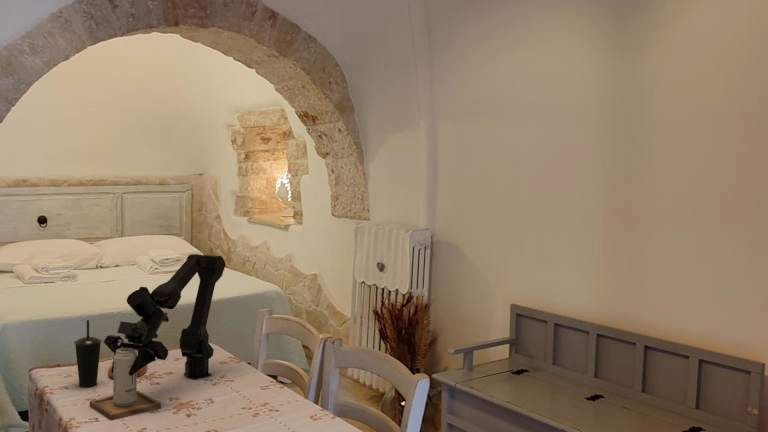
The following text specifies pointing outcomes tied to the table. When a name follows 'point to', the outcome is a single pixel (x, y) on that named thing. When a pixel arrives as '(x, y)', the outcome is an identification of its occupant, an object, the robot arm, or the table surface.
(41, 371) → the table surface
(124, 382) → the energy drink can
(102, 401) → the tray
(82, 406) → the table surface
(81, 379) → the drinking cup
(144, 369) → the bread slice
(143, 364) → the robot arm
